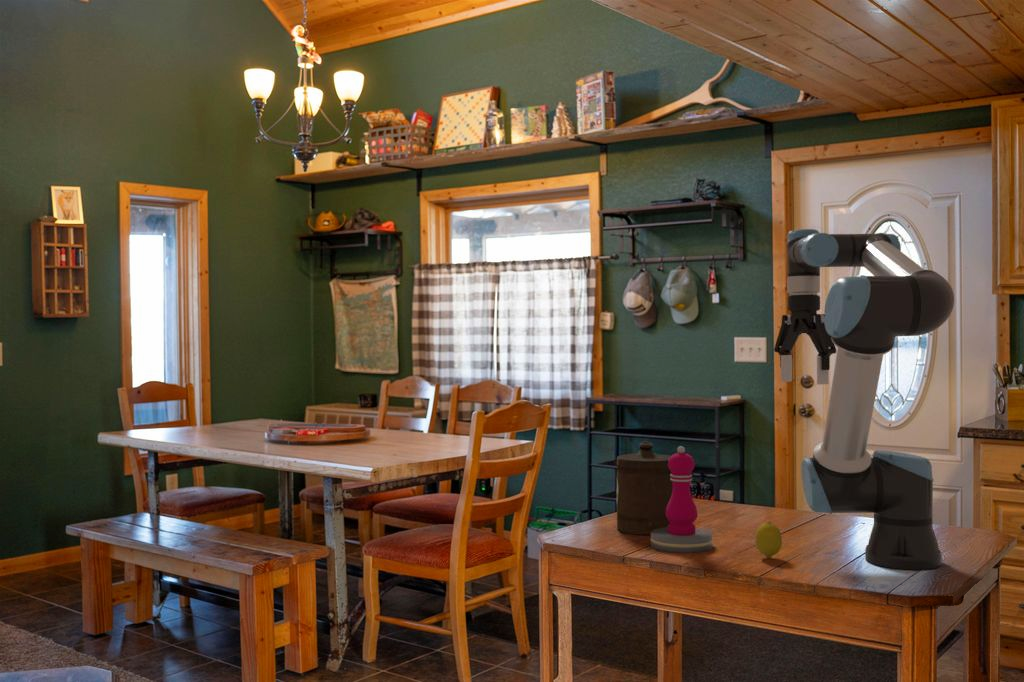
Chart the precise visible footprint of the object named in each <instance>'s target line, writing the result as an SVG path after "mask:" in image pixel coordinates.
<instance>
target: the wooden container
mask: <svg viewBox="0 0 1024 682" xmlns="http://www.w3.org/2000/svg"><path fill="white" fill-rule="evenodd" d="M639 448H640V449H639V451H638V452H637V453H626V454H620V455H617V457H616V528H617V529H616V530H618V531H620V532H622V533H626V534H631V535H642V536H651V531H652V530H654V529H658V528H664V527H668V525H669V524H670V521H669V520H668V519H667V517H666V509H667V505H668V503H669V501H670V499H671V496H672V491H673V484H672V481H671V480H670V478H671V476H670V474H672V472H671V471H670V469H669V467H668V461H669V458H670V457H671V456H672V455H669V454H660V453H659V454H658V453H655V452H654V451H653V450H652V449H653V448H654V445H653V443H652V442H651V441H649V440H643V441H642V442H639Z"/></svg>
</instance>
